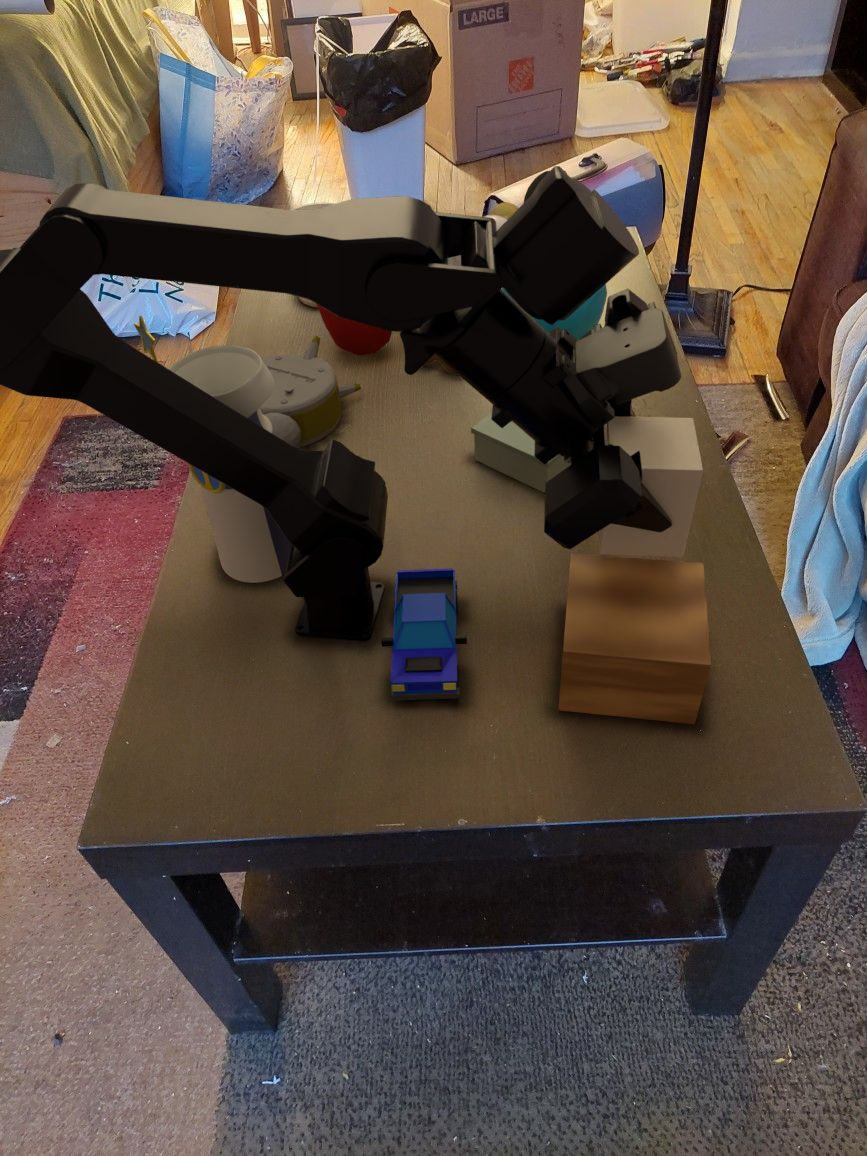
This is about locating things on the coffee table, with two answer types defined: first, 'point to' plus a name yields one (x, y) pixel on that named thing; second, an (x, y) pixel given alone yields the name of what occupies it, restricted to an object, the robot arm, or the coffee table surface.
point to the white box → (658, 482)
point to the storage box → (513, 453)
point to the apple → (354, 334)
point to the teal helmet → (579, 316)
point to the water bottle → (236, 520)
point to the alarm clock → (304, 396)
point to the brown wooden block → (635, 638)
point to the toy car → (425, 636)
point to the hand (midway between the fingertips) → (662, 498)
